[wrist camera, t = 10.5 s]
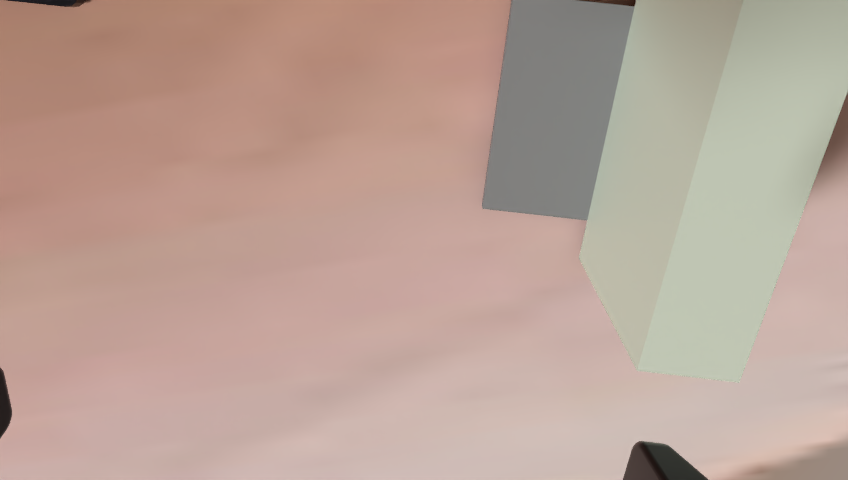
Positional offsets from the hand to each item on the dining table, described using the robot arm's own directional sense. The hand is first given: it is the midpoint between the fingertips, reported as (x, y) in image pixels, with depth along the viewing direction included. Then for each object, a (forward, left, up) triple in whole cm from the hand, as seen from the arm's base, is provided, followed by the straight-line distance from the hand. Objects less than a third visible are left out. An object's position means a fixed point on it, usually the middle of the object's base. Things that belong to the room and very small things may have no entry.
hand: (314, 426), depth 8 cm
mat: (+8, +3, -13) cm, 16 cm away
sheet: (+8, +3, -12) cm, 15 cm away
